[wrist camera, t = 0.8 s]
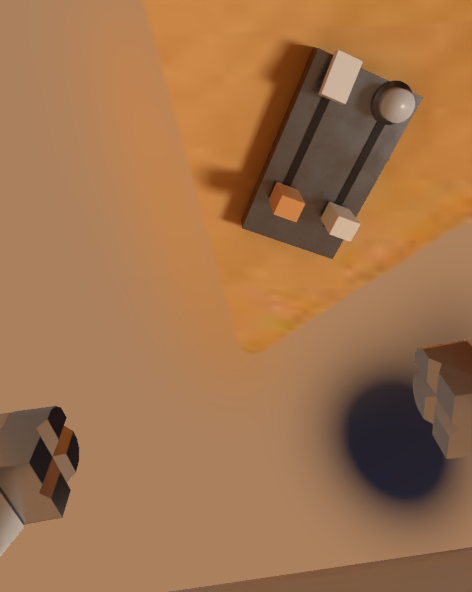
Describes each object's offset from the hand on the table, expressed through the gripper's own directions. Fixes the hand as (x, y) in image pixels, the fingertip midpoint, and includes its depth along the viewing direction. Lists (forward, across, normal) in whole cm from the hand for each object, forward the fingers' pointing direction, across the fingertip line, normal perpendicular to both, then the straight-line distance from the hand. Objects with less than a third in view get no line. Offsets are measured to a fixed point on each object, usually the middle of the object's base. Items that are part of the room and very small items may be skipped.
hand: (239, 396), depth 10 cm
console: (+38, -10, +6) cm, 40 cm away
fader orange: (+36, -6, +8) cm, 37 cm away
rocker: (+35, -12, -2) cm, 37 cm away
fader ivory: (+36, -11, +11) cm, 39 cm away
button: (+36, -17, +1) cm, 40 cm away
